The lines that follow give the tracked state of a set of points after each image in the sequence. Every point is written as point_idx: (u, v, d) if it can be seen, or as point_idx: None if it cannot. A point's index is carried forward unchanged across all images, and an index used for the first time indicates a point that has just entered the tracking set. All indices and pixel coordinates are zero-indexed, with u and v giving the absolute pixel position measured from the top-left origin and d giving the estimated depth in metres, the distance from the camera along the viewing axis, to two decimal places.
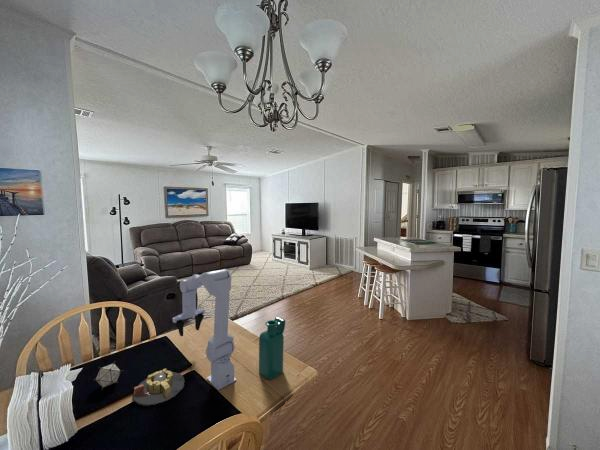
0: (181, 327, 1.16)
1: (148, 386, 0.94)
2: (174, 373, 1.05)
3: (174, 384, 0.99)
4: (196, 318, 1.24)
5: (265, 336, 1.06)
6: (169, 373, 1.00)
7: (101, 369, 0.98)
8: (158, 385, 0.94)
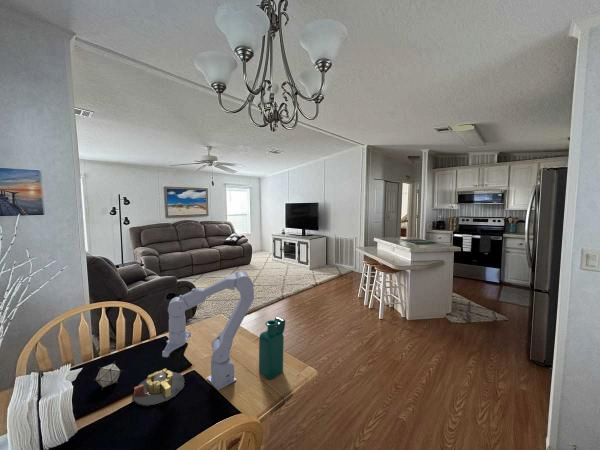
0: (180, 355, 0.96)
1: (148, 386, 0.94)
2: (174, 373, 1.05)
3: (174, 384, 0.99)
4: None
5: (265, 336, 1.06)
6: (169, 373, 1.00)
7: (101, 369, 0.98)
8: (158, 385, 0.94)
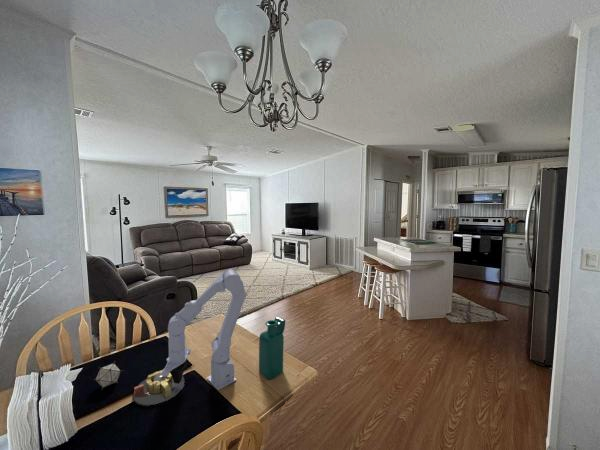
0: (180, 372, 0.97)
1: (148, 386, 0.94)
2: None
3: (174, 384, 0.99)
4: None
5: (265, 336, 1.06)
6: (169, 373, 1.00)
7: (101, 369, 0.98)
8: (158, 385, 0.94)
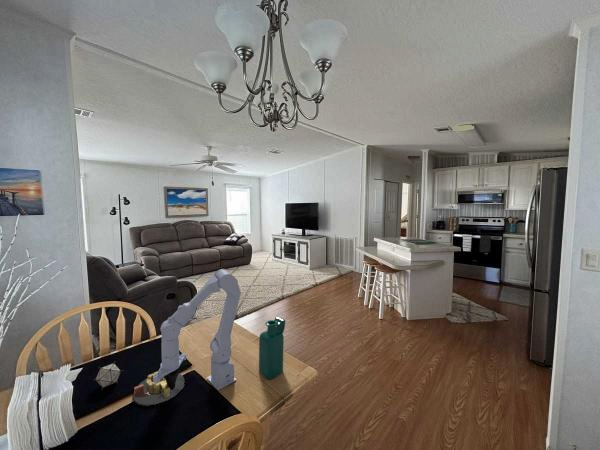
0: (174, 378, 0.94)
1: (148, 386, 0.94)
2: None
3: None
4: None
5: (265, 336, 1.06)
6: None
7: (101, 369, 0.98)
8: (157, 385, 0.94)
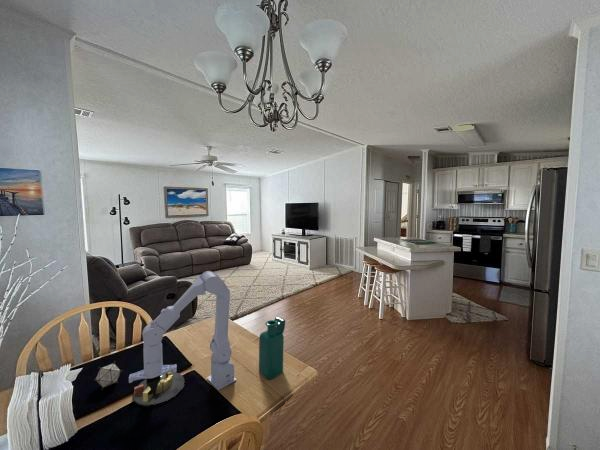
0: (151, 386, 0.89)
1: None
2: (174, 373, 1.05)
3: (174, 384, 0.99)
4: None
5: (265, 336, 1.06)
6: (168, 378, 0.97)
7: (101, 369, 0.98)
8: None
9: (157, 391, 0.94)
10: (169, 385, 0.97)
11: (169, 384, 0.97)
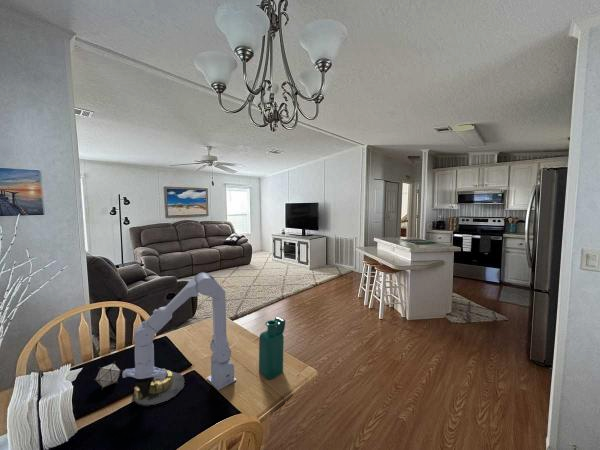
0: (139, 387, 0.89)
1: None
2: (174, 373, 1.05)
3: (174, 384, 0.99)
4: None
5: (265, 336, 1.06)
6: (164, 381, 0.96)
7: (101, 369, 0.98)
8: None
9: (151, 391, 0.94)
10: (164, 388, 0.95)
11: (164, 387, 0.95)
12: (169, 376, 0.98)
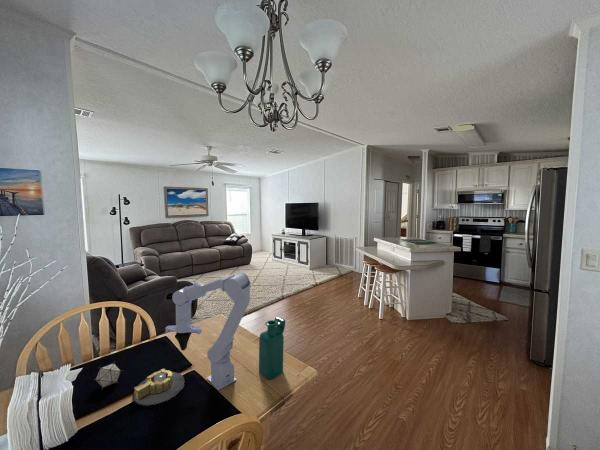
0: (178, 340, 1.05)
1: None
2: (174, 373, 1.05)
3: (174, 384, 0.99)
4: None
5: (265, 336, 1.06)
6: (164, 381, 0.96)
7: (101, 369, 0.98)
8: (146, 382, 0.95)
9: (151, 391, 0.94)
10: (164, 388, 0.95)
11: (164, 387, 0.95)
12: (169, 376, 0.98)
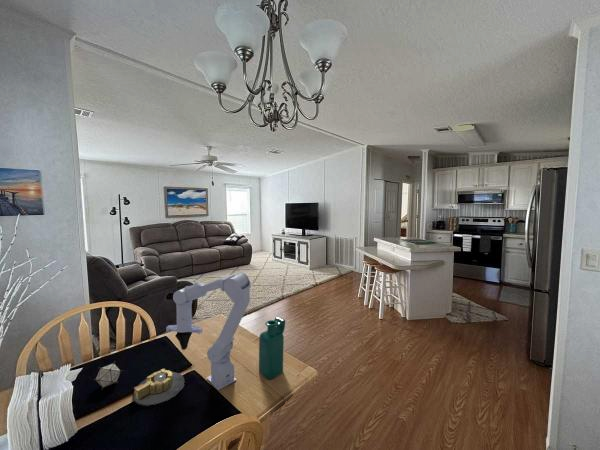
0: (179, 339, 1.06)
1: None
2: (174, 373, 1.05)
3: (174, 384, 0.99)
4: None
5: (265, 336, 1.06)
6: (164, 381, 0.96)
7: (101, 369, 0.98)
8: (146, 382, 0.95)
9: (151, 391, 0.94)
10: (164, 388, 0.95)
11: (164, 387, 0.95)
12: (169, 376, 0.98)
